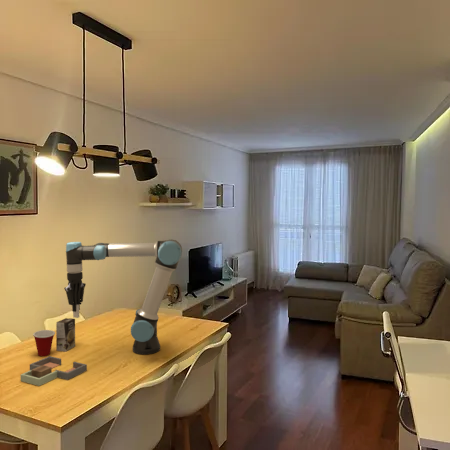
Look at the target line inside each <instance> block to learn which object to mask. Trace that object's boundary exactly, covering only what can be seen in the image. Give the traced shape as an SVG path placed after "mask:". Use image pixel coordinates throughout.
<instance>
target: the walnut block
mask: <svg viewBox="0 0 450 450" xmlns="http://www.w3.org/2000/svg"><path fill="white" fill-rule="evenodd" d="M52 369H53V368H51V367H48V366H44V365H41V366H39V367H37V368H35V369H32V370H31V372H32V376H33V377H37V378H41V377H43V376H45V375H47V374H50V373H52V372H53V371H52Z"/></svg>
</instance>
